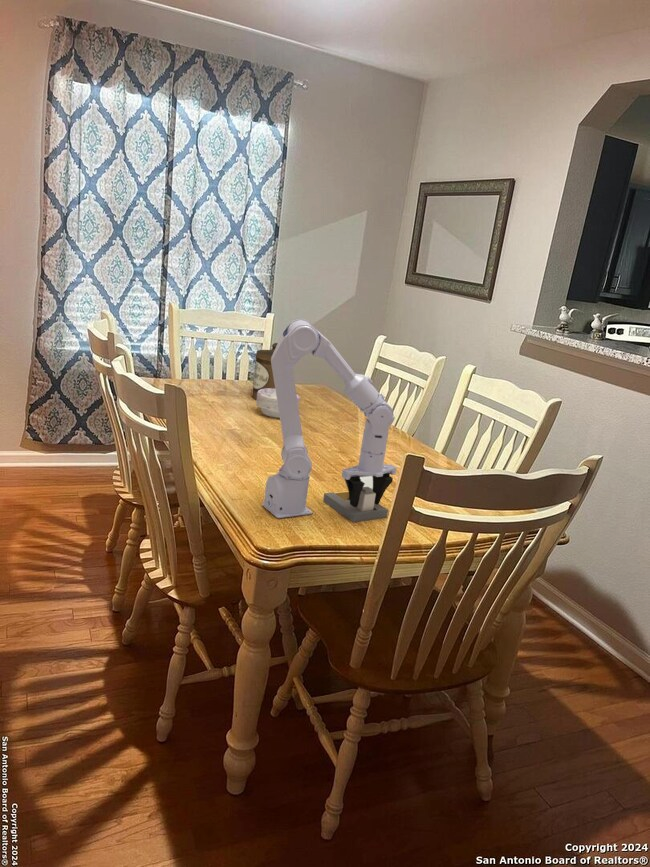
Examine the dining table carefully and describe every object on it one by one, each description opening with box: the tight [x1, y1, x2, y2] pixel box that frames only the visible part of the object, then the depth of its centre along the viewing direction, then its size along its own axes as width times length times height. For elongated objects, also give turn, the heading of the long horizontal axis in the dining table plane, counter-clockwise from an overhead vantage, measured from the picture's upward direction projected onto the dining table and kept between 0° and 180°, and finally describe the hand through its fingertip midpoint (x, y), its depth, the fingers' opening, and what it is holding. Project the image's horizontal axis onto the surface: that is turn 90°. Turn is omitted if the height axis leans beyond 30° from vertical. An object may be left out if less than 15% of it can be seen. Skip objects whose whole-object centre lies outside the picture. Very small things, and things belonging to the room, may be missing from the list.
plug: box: [355, 487, 376, 512], centre depth 156 cm, size 3×3×7 cm
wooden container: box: [251, 342, 278, 401], centre depth 254 cm, size 15×15×22 cm
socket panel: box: [322, 490, 389, 523], centre depth 160 cm, size 10×13×2 cm
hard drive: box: [344, 476, 373, 490], centre depth 178 cm, size 2×8×12 cm
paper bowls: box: [255, 388, 301, 419], centre depth 234 cm, size 15×15×8 cm
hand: (364, 504), depth 157 cm, fingers open, 6 cm apart
